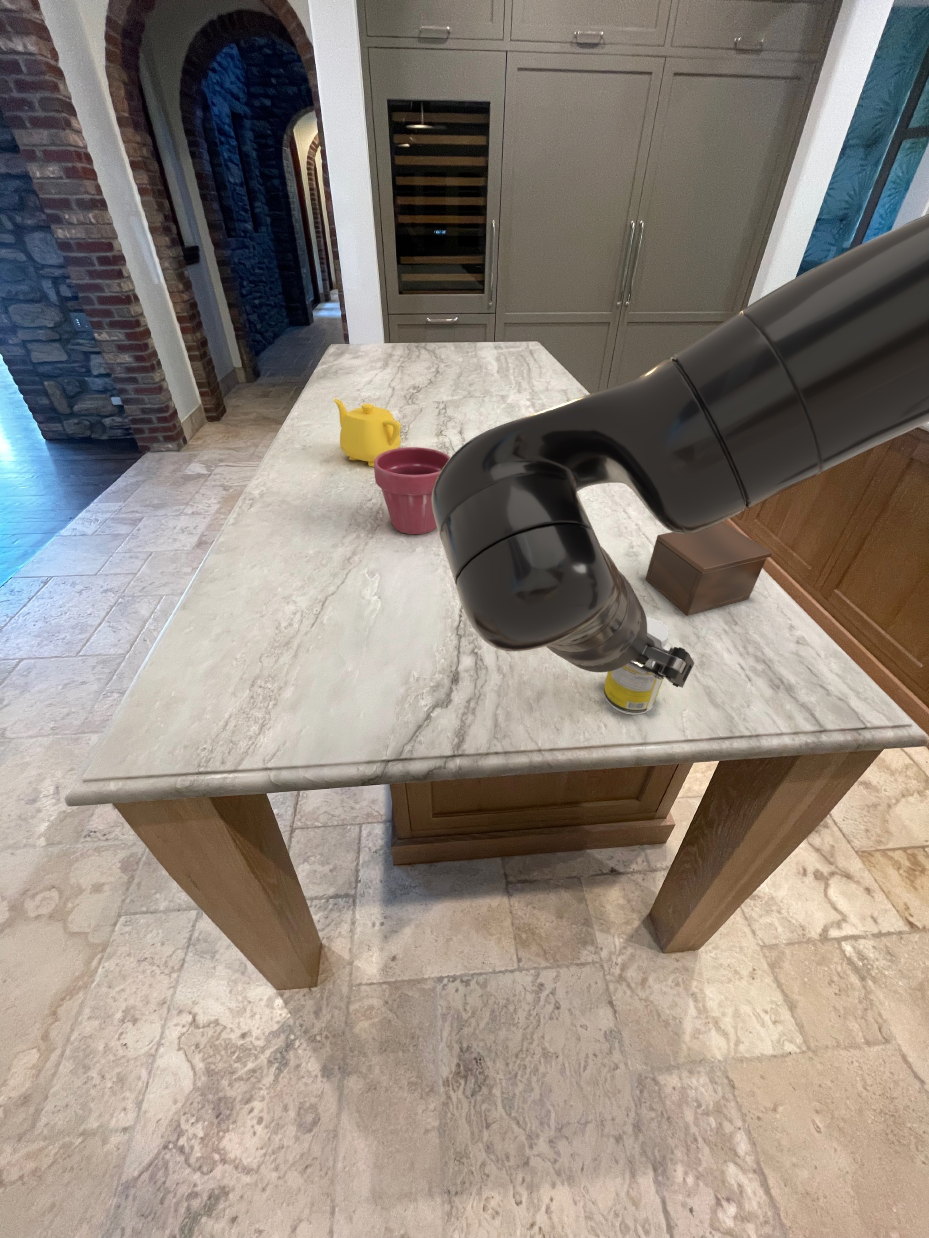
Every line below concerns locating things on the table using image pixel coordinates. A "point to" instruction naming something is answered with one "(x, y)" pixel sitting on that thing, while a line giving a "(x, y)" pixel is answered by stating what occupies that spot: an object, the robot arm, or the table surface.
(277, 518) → the table surface
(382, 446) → the teapot
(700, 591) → the box
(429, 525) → the flower pot
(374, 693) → the table surface
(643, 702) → the pill bottle
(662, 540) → the lid
